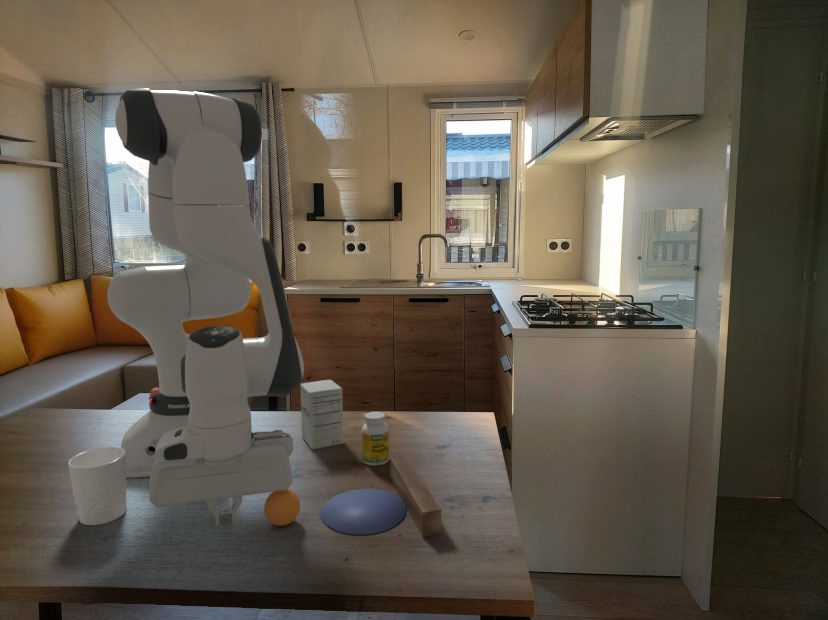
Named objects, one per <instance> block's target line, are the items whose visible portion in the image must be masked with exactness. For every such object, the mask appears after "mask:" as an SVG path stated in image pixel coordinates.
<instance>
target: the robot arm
mask: <svg viewBox="0 0 828 620" xmlns="http://www.w3.org/2000/svg"><path fill="white" fill-rule="evenodd" d="M119 97H120V98H119V103H118V104H117V107H116V110H115V117H114V118H115V120H114V121H115V127H116V131H117V135H118V137H119V139H120V140H121V142H122V146H123V148H124V149H126V150H127V151H128V153H130V154H131V155H132V156H134V157H137V158H139V159H142V160H145V161H148V164H149V165H148V171H147V172H148V176H147V188H148V189H147V192H148V193H147V195H148V218H149V219H148V221H149V223H148V224H149V230H150V233H151V235H152V236H153V238H154V240H156V241H157V242H158V243H160V244H162V245H163V246H164V247H167V248H169V249H172V250H174V251H176V252H178V253H181V254H182V255H184V256H185V262H184V263H181V264H170V265H169V264H167V265H144V266H139V267H134V268H130V269H126V270H121V271H118V272H117V273H116V274H114V276H113V277H112V279H111V280H110V282H109V284H108V287H107V293H106V294H107V295H106V296H107V297H106V298H107V304H108V305H109V308H110V310H111V313H112V314H114V316H115V317H116V318H117V319H118V320H119V321H121V322H122V323H124V324H126V325H128V326H129V327H132V328H133V329H135V331H137V332H138V333H139V334H140V335H141V336H142V337H143V338H144V339H145V340H146V342H147V343H148V345H149V346H150V348H151V350H152V352H153V355H154V359H155V363H156V369H157V374H158V375H157V376H158V385H159V387H154V388H152V389H151V391H150V392H149V398H148V405H149V409H150V410H149V411H148V412H147V413H146V414H144V415H142V417H141V418H140V419H138V420H137V421H136V422H133V424H132V425H131V426H130V427H128V429H127V430H126V431H125V434H124V435H123V437H122V439H121V444H120V445H121V446H120V448H122V449H124V450H125V457H126V479H129V478H143V477H144V478H148V477H149V486H148V487H149V492H148V493H149V501H150V503H151V504H152V505H153V506H154V507H155V508H161V507H167V506H176V505H184V504H190V503H200V502H206V508H208V510H209V511H210V513H211V514H213V516H215V526H220V525H226V524H234V523H237V513H238V511H239V508H240V507H241V505H242V504H243V497H244V496H250V495H252V496H253V495H259V494H265V493H272V492H274V491H281V490H287V489H290V487H291V486H292V485H293V474H292V473H293V471H292V465H291V458H290V456H291V455H292V453H293V451H294V440H293V437H292V435H291V434H289V433H288V432H285V431H283V430H281V429H277V430H276V429H274V430H272V431H258V432H257V431H256V432H253V429H252V428H253V427H252V411H251V408H250V406H249V403H248V401H249V400H248V398H250V397H251V398H252V397H262V396H265V397H287V396H288V395H290V394H291V393H292V392H293V391H294V390H295V389H297V388H298V387H299V386H300V384H302V382H303V377H304V374H305V373H304V372H305V364H304V357H303V354H302V351H301V349H300V346H299V344H298V341H297V339H296V336H295V334H294V330H293V322H292V318H291V314H290V313H291V312H290V310H289V309H290V308H289V304H288V301H287V300H288V299H287V296H286V291H285V286H284V283H283V278H282V275H281V272H280V268H279V263H278V261H277V260H278V259H277V255H276V253H275V250H274V248H273V245H272V244H271V242H270V240H268V239H267V238H264V237H263V236H261V235H260V234H259V232H258V231H257V229H256V227H255V225H254V222H253V220H252V215H251V209H250V208H251V207H250V198H249V197H250V195H249V194H250V193H249V187H248V180H247V174H246V169H245V168H246V167H245V163H247V162H250V161H252V160H253V159H254V158H255V157H256V156H257V155H258V154H259V153H260V150H261V146H262V143H263V142H262V141H263V126H262V120H261V119H262V118H261V116H260V114H259V112H258V111H257V109H256V107H255V106H254V105H253V104H252V103H249V102H247V101H245V100H242V99H239V98H236V97H231V98H228V97H224V96H221V95H220V96H219V95H216V94H211V93H207V92H200V91H195V90H192V91H182V90H181V91H180V90H162V89H161V90H159V89H158V90H156V89H155V90H151V89H150V88H149V87H145V88H144V87H142V88H140V87H139V88H131V89H127V90H126V91H124V93H123V94H121V96H119ZM251 282H252V283H253V284H254V285H255V286H256V288H257V290H258V292H259V295H260V299H261V303H262V308H263V313H264V316H265V320H266V321H265V322H266V324H267V325H266V326H267V329H268V333H267V335H265V336H262V337H246V338H244V337H243V334H242V332H241V331H240V330H239V329H237V328H235V327H232V326H228V325H211V326H210V325H209V326H205V327H202V328H199V329H196V330H194V331H193V332H191V333H190V334H189V333H186V332H185V330H184V325H183V323H184V322H187V321H194V320H195V321H196V320H207V319H216V318H217V319H218V318H223V317H227V316H230V315H234V314H236V313H240V312H243V311H244V310H245V309H246V307H247V305H248V303H249V302H250V299H251V297H252V296H251V295H252V285H251ZM229 498H232V503H233V504H232V505H231V507H225V508H220V506H219V505H218V500H221V499H222V500H223V499H229Z"/></svg>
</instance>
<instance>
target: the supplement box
mask: <svg viewBox="0 0 828 620" xmlns="http://www.w3.org/2000/svg"><path fill="white" fill-rule="evenodd" d="M299 386H300V413H301V414H300V415H301V438H302V439H303V440H304V441H305V442H306V443H307V445H308V446H309V447H310V448H311V450H318V449H321V448H329V447H333V446H337V445H342V444H344V415H343V414H344V409H343V408H344V407H343V387H342V386H340V385H339V384H337V382H335V381H333V380H332V379H325V380H324V379H323V380H317V381H310V382H303V383H302V382H301V383H300V384H299Z"/></svg>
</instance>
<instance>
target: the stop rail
mask: <svg viewBox="0 0 828 620" xmlns="http://www.w3.org/2000/svg"><path fill="white" fill-rule="evenodd" d="M389 464H390V465H389V466H390V467H389V468H390V469H389V470H390V472H389V474H390V477H389V478H390V480H391V481H392V483H394V484H393V485H395V486H394V487H395V489H396V491H397V493H398V495H399V498H401V499H402V500H403V502H404V503H405V505H406V511H407V512H408V513H409V515H410V517H411V518H412V520H413V523H414V524H415V526H416V528H417V530H418V532H419V534H420V535H421V537H422V538H425V537H426V538H427V537H430V536H437V535H442V509H441V507H440V506H439V504H438V502H437V501H436V500H435V498H434V496H433V494H432V493H431V492H430V490H429V489H428V487H427V485H426V484H425V483H424V481H423V480H422V478H421V477H420V475H419V474H418V472H417V471H416V469H415V467H414V465H413V464H412V462H410V460H409V459H408V457H407V455H401V456H399V455H398V456H392V457H390V456H389Z"/></svg>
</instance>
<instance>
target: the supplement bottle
mask: <svg viewBox="0 0 828 620" xmlns="http://www.w3.org/2000/svg"><path fill="white" fill-rule="evenodd" d="M364 422H365V423H364V424H363V426H362V427H361V442H362V443H361V446H362V451H361V453H362V462H363V463H364V464H365V465H368V466H371V467H377V465H379V466H383V465H385V464H387V463H388V461H390V432H389V431H390V429H389V425H388V424H387V423H386V414H385V413H384V412H381V411H370V412H367V413H365V415H364Z"/></svg>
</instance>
